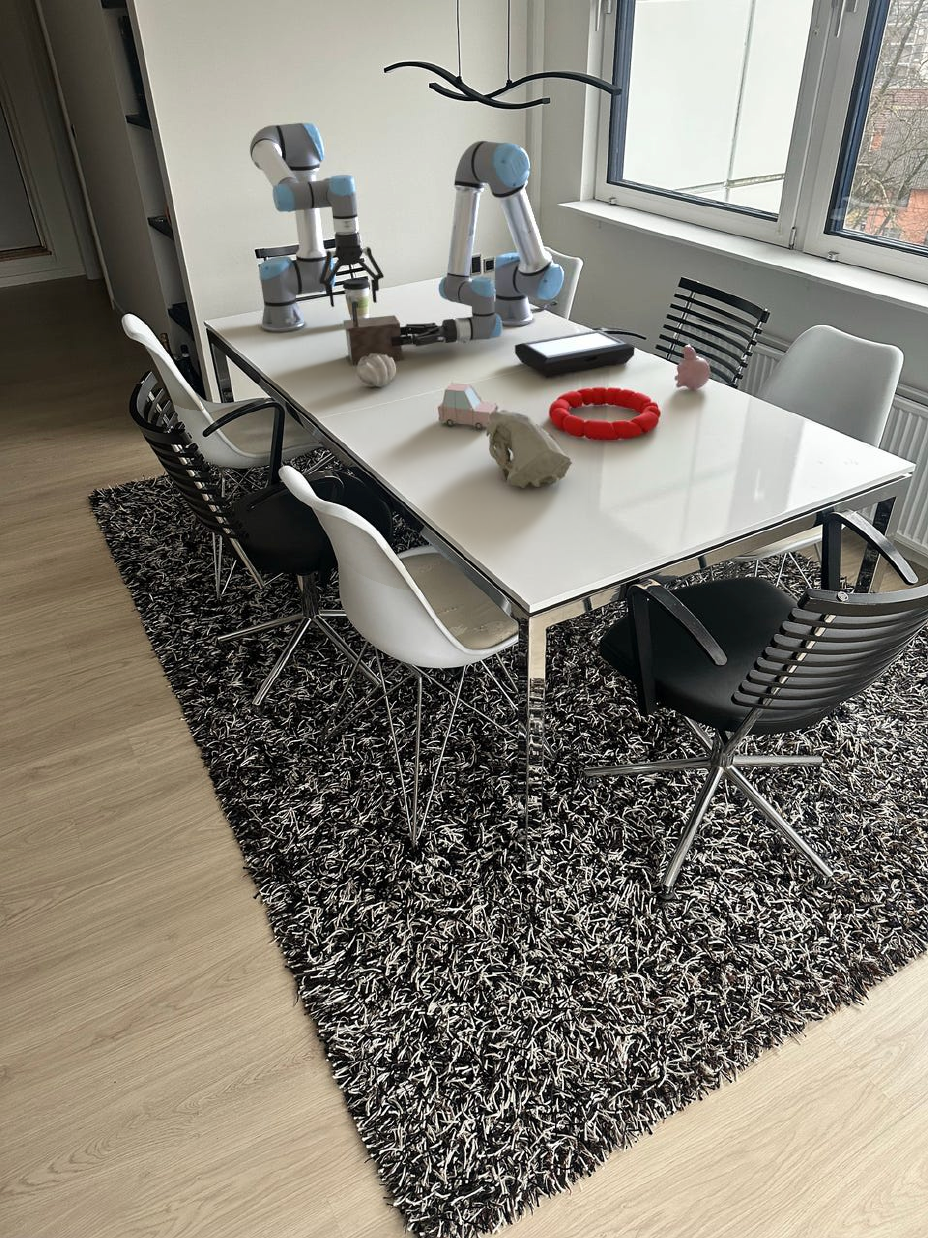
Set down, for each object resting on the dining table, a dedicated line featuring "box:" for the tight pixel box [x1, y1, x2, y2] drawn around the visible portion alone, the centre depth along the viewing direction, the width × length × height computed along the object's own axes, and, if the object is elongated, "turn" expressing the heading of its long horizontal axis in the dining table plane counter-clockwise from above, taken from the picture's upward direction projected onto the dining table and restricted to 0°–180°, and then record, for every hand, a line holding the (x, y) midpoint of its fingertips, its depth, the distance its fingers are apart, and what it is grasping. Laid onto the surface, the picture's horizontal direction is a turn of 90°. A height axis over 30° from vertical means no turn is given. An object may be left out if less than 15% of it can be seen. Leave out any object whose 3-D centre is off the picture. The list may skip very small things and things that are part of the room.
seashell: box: [356, 353, 397, 388], centre depth 269 cm, size 10×15×10 cm
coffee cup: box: [342, 277, 371, 320], centre depth 323 cm, size 10×10×15 cm
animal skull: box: [485, 409, 573, 489], centre depth 216 cm, size 17×25×20 cm
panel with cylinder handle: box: [343, 296, 401, 332], centre depth 286 cm, size 17×10×9 cm, turn 104°
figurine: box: [674, 344, 711, 390], centre depth 259 cm, size 9×11×12 cm
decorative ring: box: [548, 386, 661, 442], centre depth 242 cm, size 7×30×30 cm
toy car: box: [437, 382, 499, 431], centre depth 243 cm, size 9×15×10 cm, turn 70°
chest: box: [345, 325, 403, 366], centre depth 291 cm, size 17×10×11 cm, turn 104°
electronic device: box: [514, 329, 636, 379], centre depth 282 cm, size 32×6×20 cm
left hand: (353, 303), depth 283 cm, fingers open, 13 cm apart
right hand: (389, 337), depth 292 cm, fingers closed on chest, 9 cm apart
